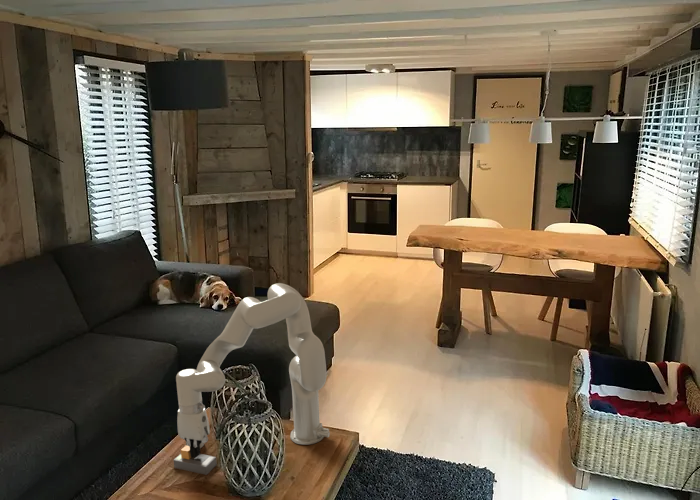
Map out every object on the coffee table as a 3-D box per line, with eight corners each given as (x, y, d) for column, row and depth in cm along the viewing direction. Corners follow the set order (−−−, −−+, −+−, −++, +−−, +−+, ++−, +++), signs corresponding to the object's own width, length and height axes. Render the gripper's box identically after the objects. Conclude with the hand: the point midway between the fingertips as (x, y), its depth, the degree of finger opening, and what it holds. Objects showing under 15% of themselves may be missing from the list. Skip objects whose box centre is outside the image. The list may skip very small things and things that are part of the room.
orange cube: (194, 454, 196) (193, 446, 195) (188, 459, 193) (188, 451, 192) (186, 453, 197) (186, 445, 196) (181, 457, 194) (180, 449, 193)
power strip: (216, 464, 195) (215, 456, 194) (206, 474, 190) (205, 466, 189) (185, 458, 200) (184, 450, 199) (174, 467, 194) (173, 459, 193)
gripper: (216, 404, 190) (220, 453, 194) (179, 398, 196) (184, 446, 199) (203, 414, 184) (208, 465, 187) (165, 408, 189) (170, 457, 193)
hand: (195, 455), depth 193 cm, fingers closed
